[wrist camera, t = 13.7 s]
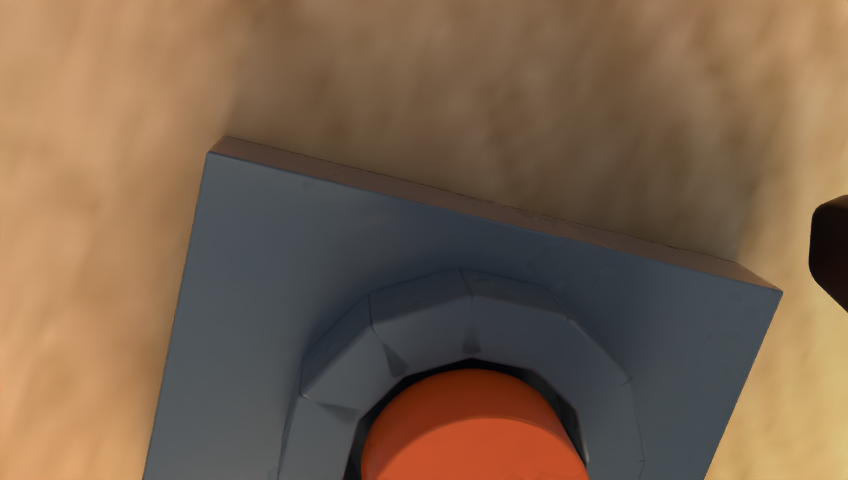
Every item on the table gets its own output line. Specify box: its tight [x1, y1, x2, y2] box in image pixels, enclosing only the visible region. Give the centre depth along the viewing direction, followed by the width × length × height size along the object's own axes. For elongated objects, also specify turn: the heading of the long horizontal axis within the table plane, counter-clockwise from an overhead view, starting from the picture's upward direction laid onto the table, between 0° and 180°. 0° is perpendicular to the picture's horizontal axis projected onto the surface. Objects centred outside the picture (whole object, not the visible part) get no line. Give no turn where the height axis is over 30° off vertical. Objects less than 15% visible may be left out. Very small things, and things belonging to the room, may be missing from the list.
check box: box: [142, 136, 783, 480], centre depth 15 cm, size 12×9×4 cm
